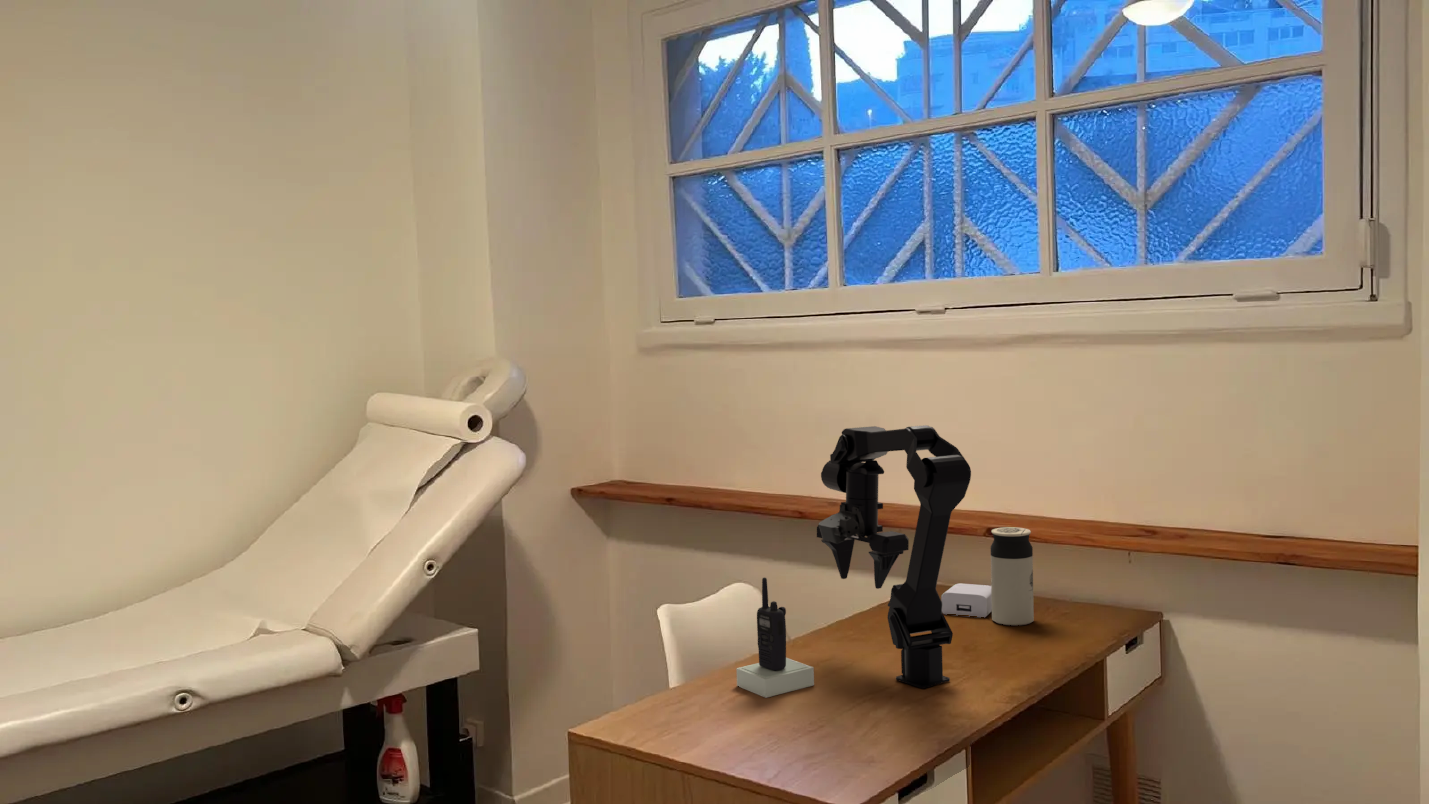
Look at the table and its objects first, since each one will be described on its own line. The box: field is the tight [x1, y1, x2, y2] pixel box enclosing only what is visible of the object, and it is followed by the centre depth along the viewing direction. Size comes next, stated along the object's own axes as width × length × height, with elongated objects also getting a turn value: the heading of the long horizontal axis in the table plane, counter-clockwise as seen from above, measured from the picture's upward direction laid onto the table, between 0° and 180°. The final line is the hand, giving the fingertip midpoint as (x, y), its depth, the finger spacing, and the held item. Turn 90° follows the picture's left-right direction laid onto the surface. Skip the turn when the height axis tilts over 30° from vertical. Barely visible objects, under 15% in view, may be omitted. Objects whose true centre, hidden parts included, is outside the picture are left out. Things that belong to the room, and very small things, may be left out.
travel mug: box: [990, 526, 1035, 627], centre depth 227 cm, size 8×8×18 cm
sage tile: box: [735, 657, 815, 698], centre depth 193 cm, size 8×10×3 cm
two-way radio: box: [756, 577, 787, 671], centre depth 192 cm, size 6×4×15 cm
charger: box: [940, 583, 992, 618], centre depth 240 cm, size 5×9×15 cm
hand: (860, 583), depth 208 cm, fingers open, 9 cm apart
